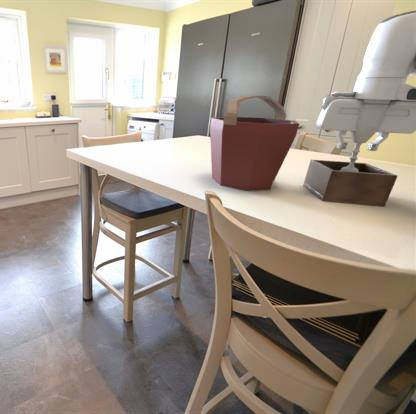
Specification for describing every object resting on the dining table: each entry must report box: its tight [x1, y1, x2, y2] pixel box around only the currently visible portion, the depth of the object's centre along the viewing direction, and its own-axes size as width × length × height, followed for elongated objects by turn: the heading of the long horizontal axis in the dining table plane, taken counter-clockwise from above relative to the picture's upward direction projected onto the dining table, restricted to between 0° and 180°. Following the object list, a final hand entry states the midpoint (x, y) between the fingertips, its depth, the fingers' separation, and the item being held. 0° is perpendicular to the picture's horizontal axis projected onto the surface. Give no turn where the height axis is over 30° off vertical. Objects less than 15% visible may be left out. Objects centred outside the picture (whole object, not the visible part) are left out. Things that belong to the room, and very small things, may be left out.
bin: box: [303, 159, 398, 207], centre depth 76 cm, size 14×14×8 cm
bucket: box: [209, 95, 300, 192], centre depth 84 cm, size 24×22×25 cm
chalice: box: [340, 105, 390, 172], centre depth 72 cm, size 7×7×18 cm
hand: (356, 149), depth 73 cm, fingers closed on chalice, 5 cm apart
